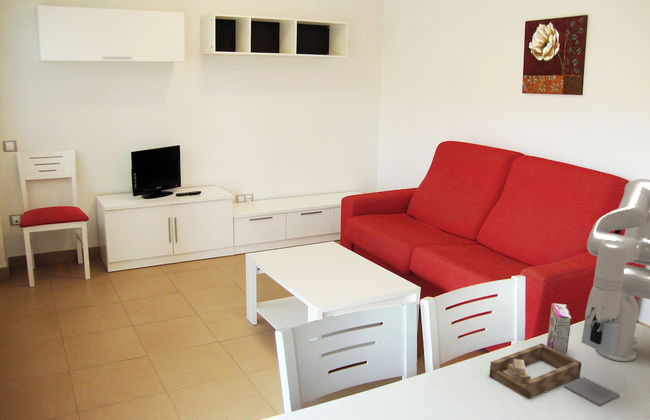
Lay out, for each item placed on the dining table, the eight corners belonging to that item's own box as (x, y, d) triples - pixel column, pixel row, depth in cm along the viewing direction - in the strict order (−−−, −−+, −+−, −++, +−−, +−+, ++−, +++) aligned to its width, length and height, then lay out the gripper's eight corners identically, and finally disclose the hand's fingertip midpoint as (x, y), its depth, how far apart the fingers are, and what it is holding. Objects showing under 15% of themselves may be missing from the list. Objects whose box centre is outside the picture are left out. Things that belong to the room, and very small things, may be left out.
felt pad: (583, 378, 195) (584, 377, 195) (619, 396, 185) (619, 395, 185) (564, 387, 190) (564, 385, 189) (599, 406, 180) (599, 404, 180)
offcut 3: (509, 376, 196) (509, 369, 196) (532, 391, 188) (533, 384, 187) (501, 378, 195) (502, 371, 194) (525, 394, 186) (526, 386, 186)
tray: (539, 356, 208) (541, 343, 207) (579, 377, 196) (581, 362, 195) (489, 376, 195) (490, 361, 194) (528, 399, 183) (530, 383, 181)
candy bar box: (545, 346, 216) (551, 302, 212) (560, 347, 215) (566, 304, 211) (550, 361, 205) (556, 315, 201) (566, 363, 204) (572, 317, 200)
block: (587, 340, 188) (591, 312, 186) (614, 352, 181) (619, 324, 179) (581, 342, 187) (585, 315, 184) (608, 355, 179) (613, 326, 177)
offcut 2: (516, 370, 195) (517, 363, 194) (529, 383, 187) (530, 376, 187) (507, 371, 194) (508, 364, 194) (520, 384, 187) (521, 377, 186)
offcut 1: (523, 365, 193) (523, 360, 192) (524, 375, 187) (525, 369, 187) (513, 364, 193) (513, 358, 193) (514, 373, 188) (515, 368, 187)
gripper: (612, 273, 186) (603, 330, 191) (578, 283, 177) (570, 342, 182) (636, 282, 180) (626, 339, 185) (602, 292, 171) (593, 353, 176)
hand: (598, 340), depth 183 cm, fingers closed on block, 3 cm apart
